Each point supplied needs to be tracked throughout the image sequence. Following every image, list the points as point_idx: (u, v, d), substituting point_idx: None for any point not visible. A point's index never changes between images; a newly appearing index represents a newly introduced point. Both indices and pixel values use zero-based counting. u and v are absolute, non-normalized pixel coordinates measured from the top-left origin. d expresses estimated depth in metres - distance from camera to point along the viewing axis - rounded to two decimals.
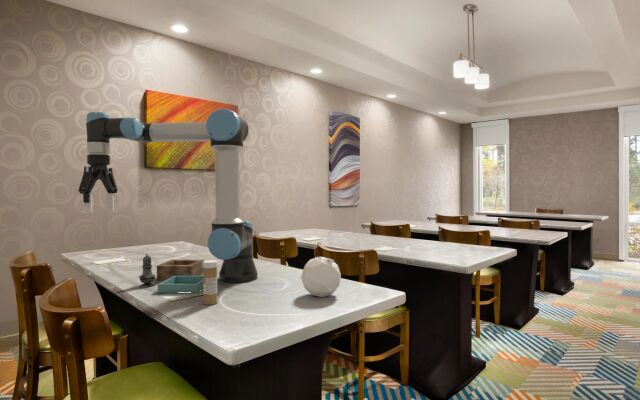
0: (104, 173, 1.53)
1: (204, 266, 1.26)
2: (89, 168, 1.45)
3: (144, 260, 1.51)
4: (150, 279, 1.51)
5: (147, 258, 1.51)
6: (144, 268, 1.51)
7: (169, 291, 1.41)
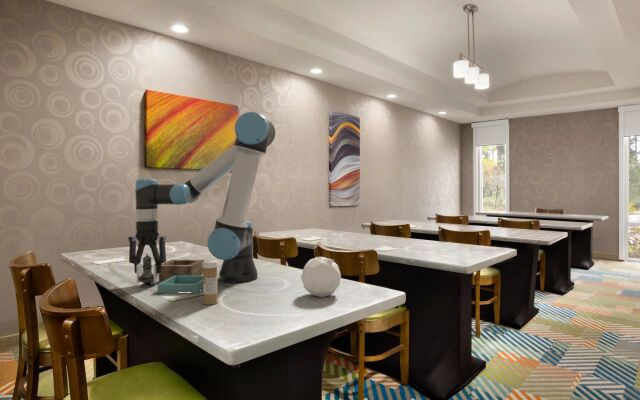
0: None
1: (204, 266, 1.26)
2: None
3: (144, 260, 1.51)
4: (150, 279, 1.51)
5: (147, 258, 1.51)
6: (144, 268, 1.51)
7: (169, 291, 1.41)
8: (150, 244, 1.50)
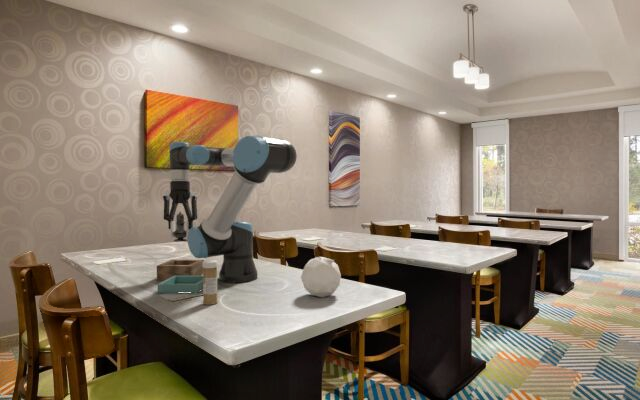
0: None
1: (204, 266, 1.26)
2: None
3: (178, 217, 1.64)
4: (183, 234, 1.64)
5: (180, 215, 1.64)
6: (178, 224, 1.64)
7: (169, 291, 1.41)
8: (183, 202, 1.63)
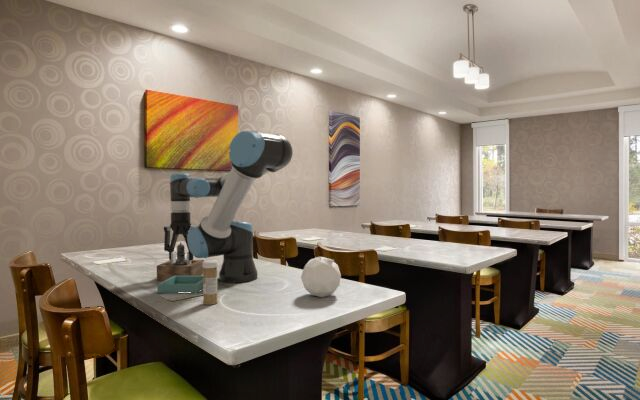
0: (181, 229, 1.64)
1: (204, 266, 1.26)
2: None
3: (178, 248, 1.64)
4: None
5: (181, 246, 1.64)
6: (178, 255, 1.64)
7: (169, 291, 1.41)
8: (184, 233, 1.64)
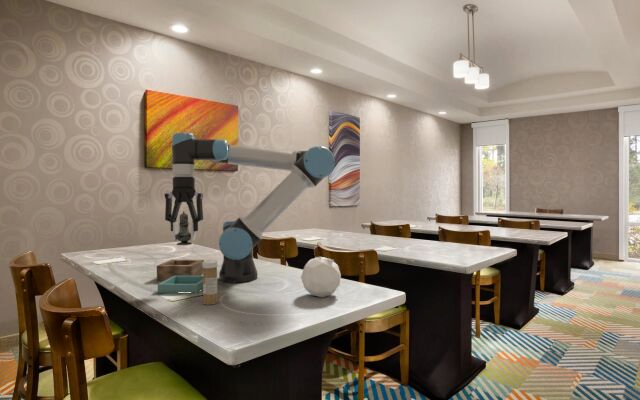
0: (184, 195, 1.45)
1: (204, 266, 1.26)
2: None
3: (181, 217, 1.45)
4: (187, 237, 1.45)
5: (184, 215, 1.45)
6: (181, 226, 1.45)
7: (169, 291, 1.41)
8: (187, 201, 1.45)
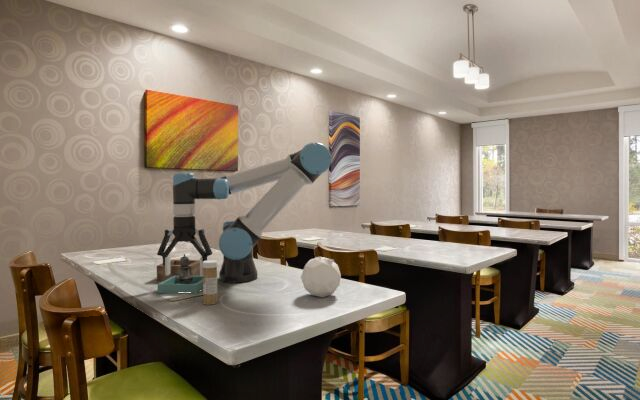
0: (185, 235, 1.45)
1: (204, 266, 1.26)
2: None
3: (182, 261, 1.46)
4: (188, 280, 1.45)
5: (185, 258, 1.46)
6: (182, 269, 1.46)
7: (169, 291, 1.41)
8: (190, 239, 1.45)
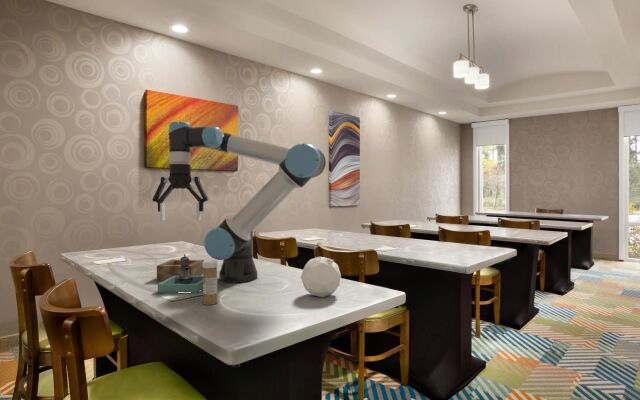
0: (181, 182, 1.51)
1: (204, 266, 1.26)
2: None
3: (182, 261, 1.46)
4: (188, 280, 1.46)
5: (185, 258, 1.46)
6: (182, 269, 1.46)
7: (169, 291, 1.41)
8: (186, 186, 1.50)
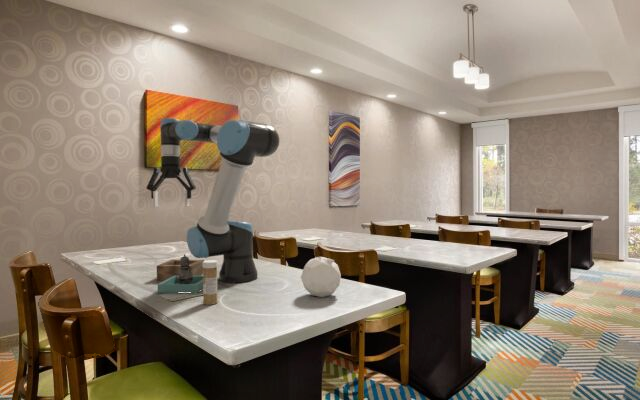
0: (171, 172, 1.69)
1: (204, 266, 1.26)
2: None
3: (182, 261, 1.46)
4: (188, 280, 1.45)
5: (185, 258, 1.46)
6: (182, 269, 1.46)
7: (169, 291, 1.41)
8: (176, 175, 1.68)
